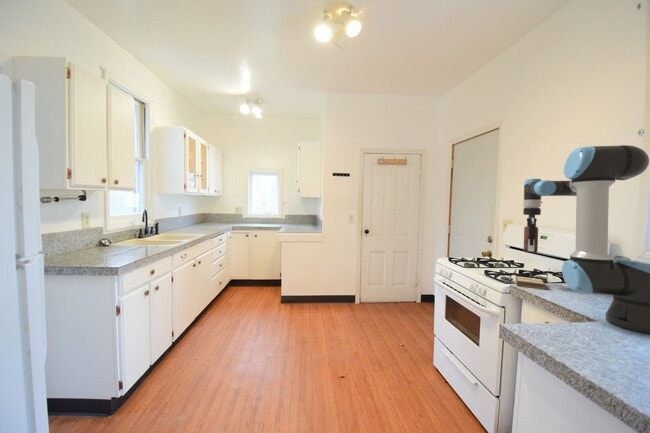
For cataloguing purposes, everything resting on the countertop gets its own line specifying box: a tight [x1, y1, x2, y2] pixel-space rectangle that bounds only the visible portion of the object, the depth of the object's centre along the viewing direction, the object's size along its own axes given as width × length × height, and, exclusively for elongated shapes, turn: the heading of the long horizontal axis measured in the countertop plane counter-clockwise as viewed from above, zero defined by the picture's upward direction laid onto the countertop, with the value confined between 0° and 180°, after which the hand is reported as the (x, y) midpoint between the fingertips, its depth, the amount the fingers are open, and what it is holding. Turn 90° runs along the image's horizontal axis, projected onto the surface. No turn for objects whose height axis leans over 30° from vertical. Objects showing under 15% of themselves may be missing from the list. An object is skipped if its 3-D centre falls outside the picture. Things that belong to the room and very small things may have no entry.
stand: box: [515, 276, 546, 291], centre depth 151 cm, size 12×12×3 cm
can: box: [523, 225, 539, 254], centre depth 151 cm, size 6×6×14 cm
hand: (530, 250), depth 150 cm, fingers open, 3 cm apart
